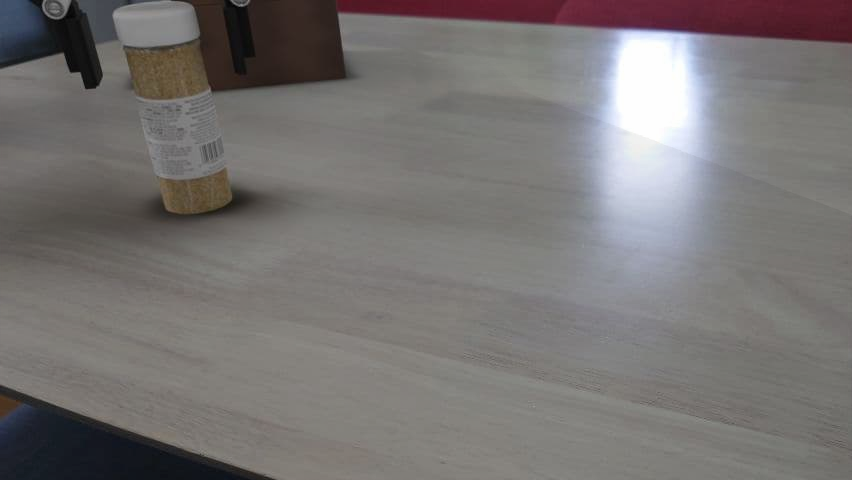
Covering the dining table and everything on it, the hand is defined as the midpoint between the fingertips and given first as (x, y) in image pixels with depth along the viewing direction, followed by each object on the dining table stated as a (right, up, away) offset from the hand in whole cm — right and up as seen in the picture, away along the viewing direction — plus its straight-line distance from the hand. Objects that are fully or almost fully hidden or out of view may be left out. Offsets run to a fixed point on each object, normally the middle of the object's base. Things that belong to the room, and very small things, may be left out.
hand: (169, 75), depth 50 cm
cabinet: (-6, +9, +35) cm, 37 cm away
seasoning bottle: (0, -8, +5) cm, 10 cm away
